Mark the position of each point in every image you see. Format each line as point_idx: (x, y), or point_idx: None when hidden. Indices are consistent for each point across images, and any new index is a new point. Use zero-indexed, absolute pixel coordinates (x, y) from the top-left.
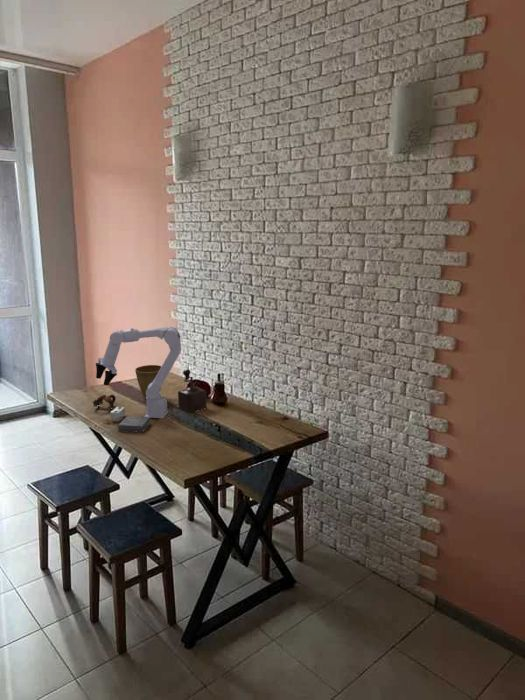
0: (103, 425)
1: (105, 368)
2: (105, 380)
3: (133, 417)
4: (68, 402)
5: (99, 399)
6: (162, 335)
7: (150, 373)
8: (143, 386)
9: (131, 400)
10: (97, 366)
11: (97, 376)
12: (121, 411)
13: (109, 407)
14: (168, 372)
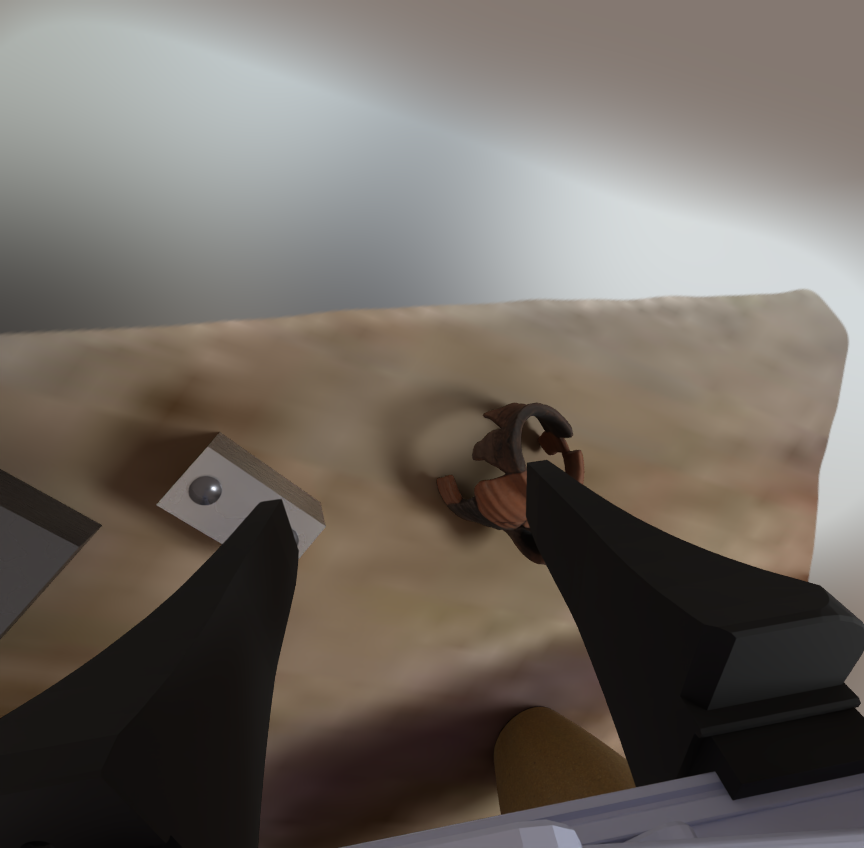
0: (145, 354)
1: (615, 716)
2: (207, 561)
3: (22, 592)
4: (706, 318)
5: (507, 445)
6: None
7: None
8: (550, 781)
9: (538, 635)
10: (680, 593)
11: (537, 484)
12: (217, 535)
13: (447, 488)
14: None
